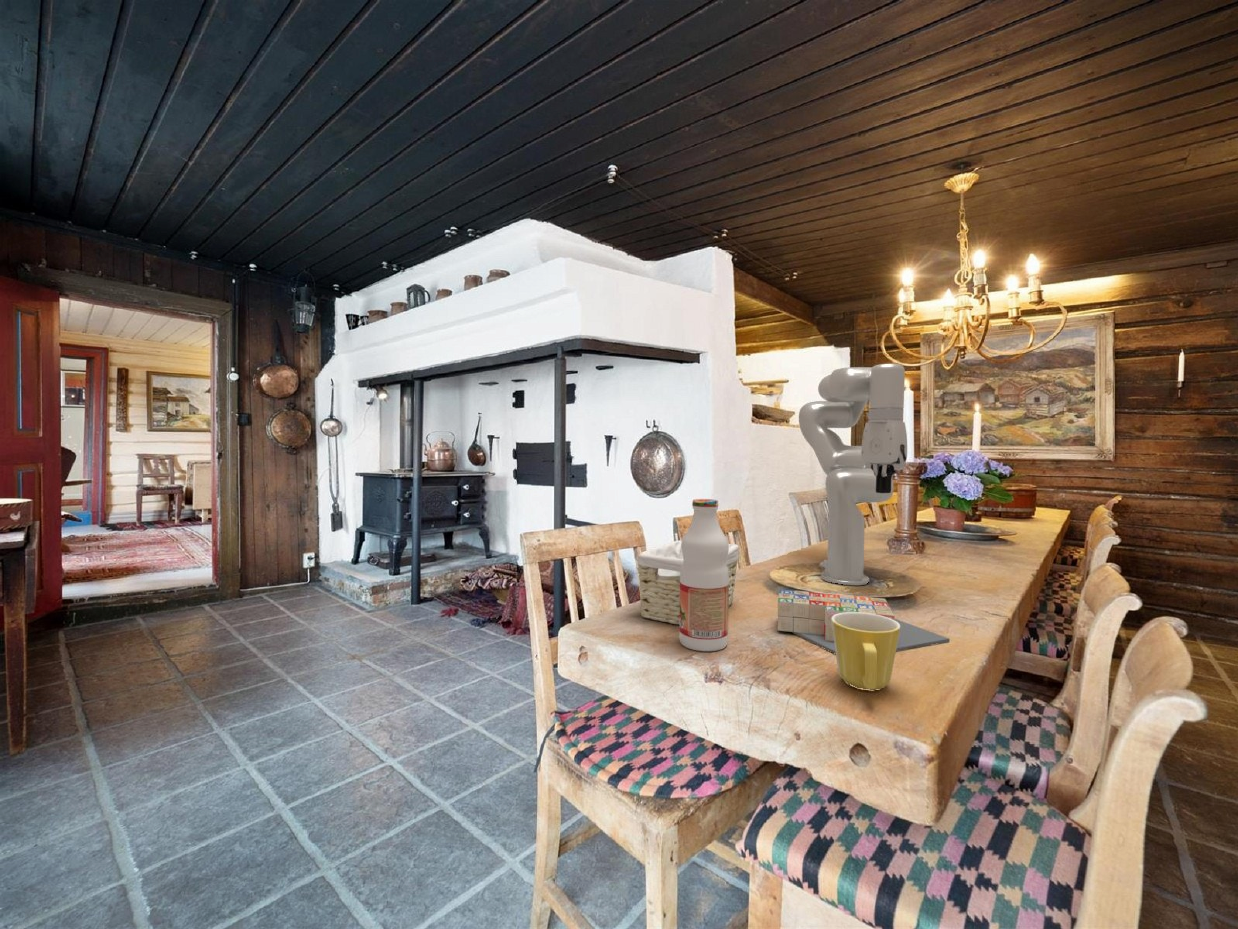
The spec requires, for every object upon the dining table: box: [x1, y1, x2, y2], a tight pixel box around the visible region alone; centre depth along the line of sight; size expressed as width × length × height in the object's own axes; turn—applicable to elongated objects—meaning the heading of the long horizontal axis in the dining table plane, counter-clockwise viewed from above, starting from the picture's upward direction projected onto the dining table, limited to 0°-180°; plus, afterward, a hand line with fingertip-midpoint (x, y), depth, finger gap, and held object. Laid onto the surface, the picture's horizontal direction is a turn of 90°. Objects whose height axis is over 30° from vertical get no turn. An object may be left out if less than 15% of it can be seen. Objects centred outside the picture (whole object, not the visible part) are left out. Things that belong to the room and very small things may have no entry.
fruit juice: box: [678, 498, 730, 652], centre depth 107 cm, size 9×9×28 cm
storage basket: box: [637, 539, 740, 625], centre depth 128 cm, size 24×16×15 cm
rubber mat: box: [792, 617, 950, 655], centre depth 112 cm, size 15×26×1 cm, turn 112°
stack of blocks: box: [777, 589, 895, 641], centre depth 113 cm, size 21×6×12 cm
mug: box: [831, 612, 900, 690], centre depth 89 cm, size 14×10×10 cm
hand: (883, 492), depth 134 cm, fingers closed
